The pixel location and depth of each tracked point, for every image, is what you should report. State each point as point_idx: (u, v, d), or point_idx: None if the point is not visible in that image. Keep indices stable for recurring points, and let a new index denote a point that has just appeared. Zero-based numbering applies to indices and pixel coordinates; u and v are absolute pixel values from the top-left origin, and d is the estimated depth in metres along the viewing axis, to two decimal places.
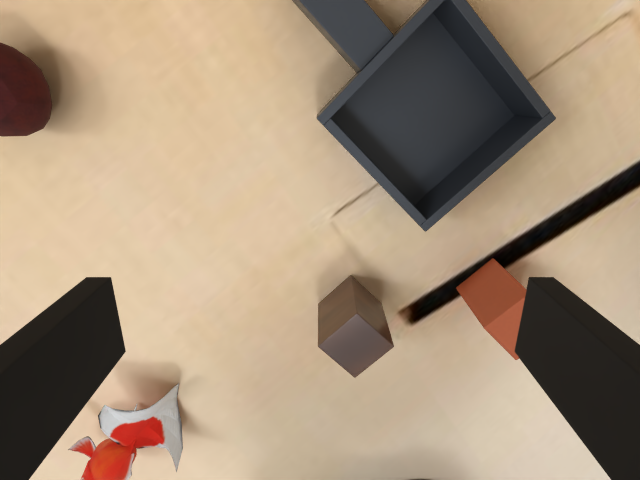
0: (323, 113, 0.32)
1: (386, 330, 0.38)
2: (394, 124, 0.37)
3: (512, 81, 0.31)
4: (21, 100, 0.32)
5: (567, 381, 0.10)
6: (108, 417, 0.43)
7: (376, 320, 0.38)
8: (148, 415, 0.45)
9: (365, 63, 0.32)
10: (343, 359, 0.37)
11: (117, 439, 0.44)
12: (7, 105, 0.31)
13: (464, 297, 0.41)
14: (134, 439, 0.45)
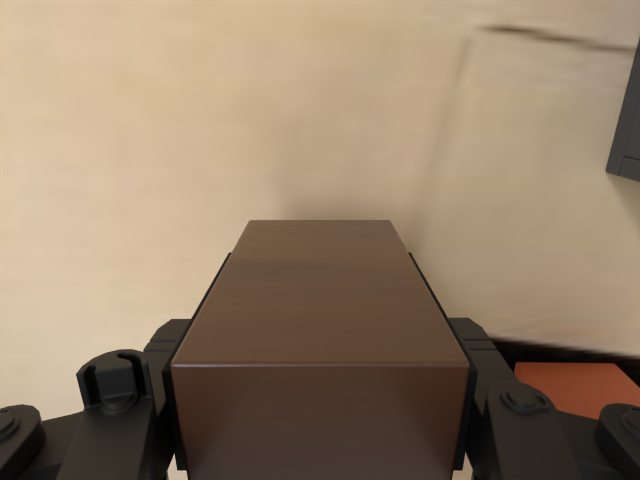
0: None
1: None
2: None
3: None
4: None
5: None
6: None
7: None
8: None
9: None
10: None
11: None
12: None
13: None
14: None
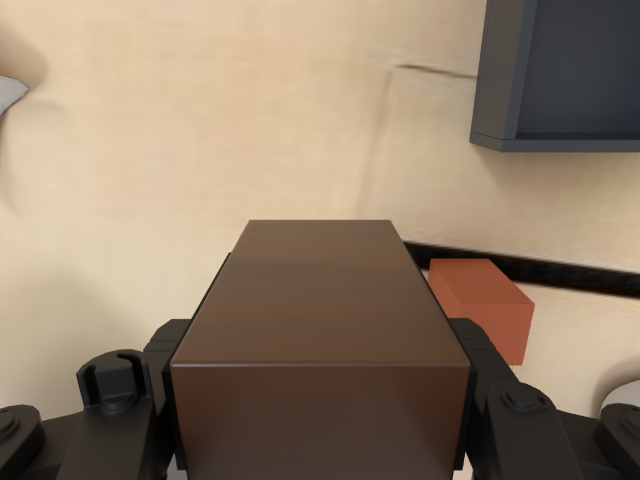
0: None
1: None
2: (553, 26, 0.28)
3: None
4: None
5: None
6: None
7: None
8: None
9: None
10: None
11: None
12: None
13: (440, 270, 0.32)
14: None
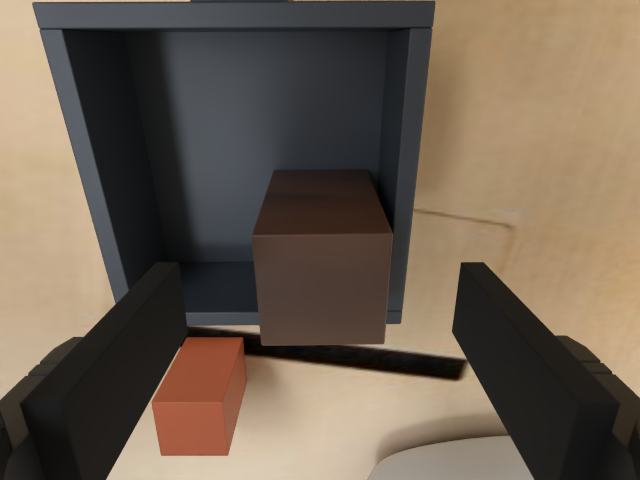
0: (51, 7, 0.13)
1: None
2: (217, 139, 0.20)
3: None
4: None
5: (484, 354, 0.11)
6: None
7: None
8: None
9: None
10: (275, 299, 0.15)
11: None
12: None
13: (179, 353, 0.33)
14: None
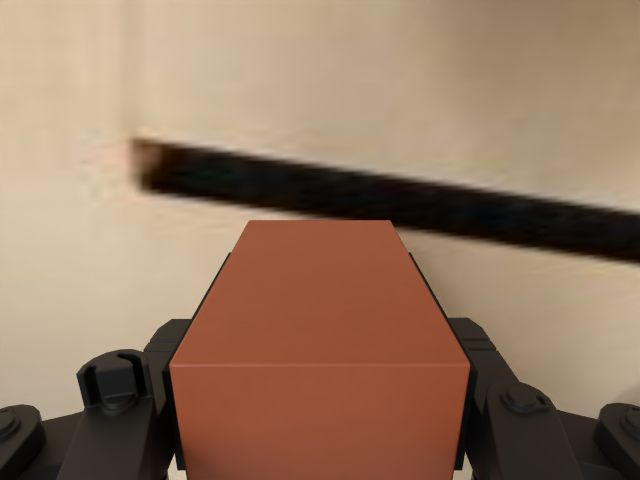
0: None
1: None
2: None
3: None
4: None
5: None
6: None
7: None
8: None
9: None
10: None
11: None
12: None
13: (240, 244, 0.12)
14: None
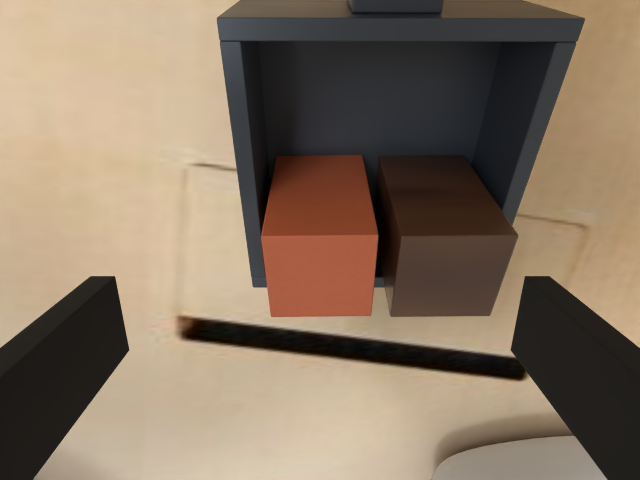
0: (234, 22, 0.15)
1: None
2: (332, 119, 0.22)
3: None
4: None
5: (562, 379, 0.10)
6: None
7: None
8: None
9: (367, 9, 0.15)
10: (410, 283, 0.19)
11: None
12: None
13: (275, 175, 0.21)
14: None
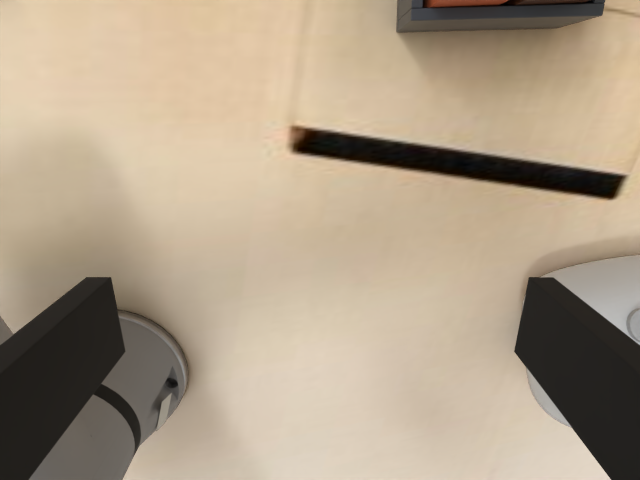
0: None
1: None
2: None
3: None
4: None
5: (567, 381, 0.10)
6: None
7: None
8: None
9: None
10: None
11: None
12: None
13: None
14: None
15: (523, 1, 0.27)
